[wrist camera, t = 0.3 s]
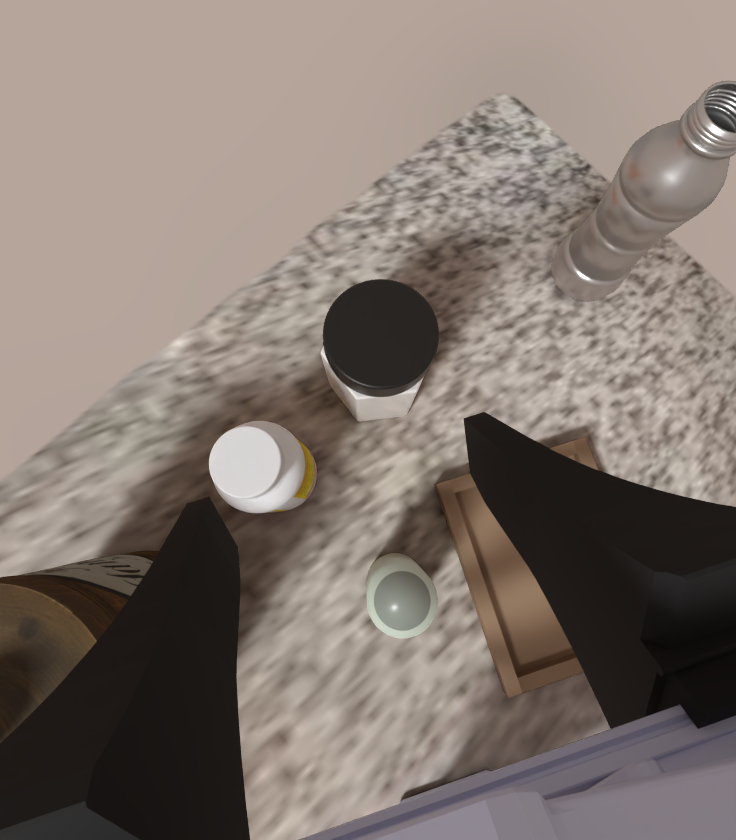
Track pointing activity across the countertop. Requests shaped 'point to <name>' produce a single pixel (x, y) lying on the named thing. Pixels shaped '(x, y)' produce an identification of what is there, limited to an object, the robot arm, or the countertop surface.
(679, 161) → the plastic bottle
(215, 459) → the supplement bottle
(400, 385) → the jar
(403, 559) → the cup
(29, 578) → the wooden container
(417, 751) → the countertop surface
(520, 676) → the tray
